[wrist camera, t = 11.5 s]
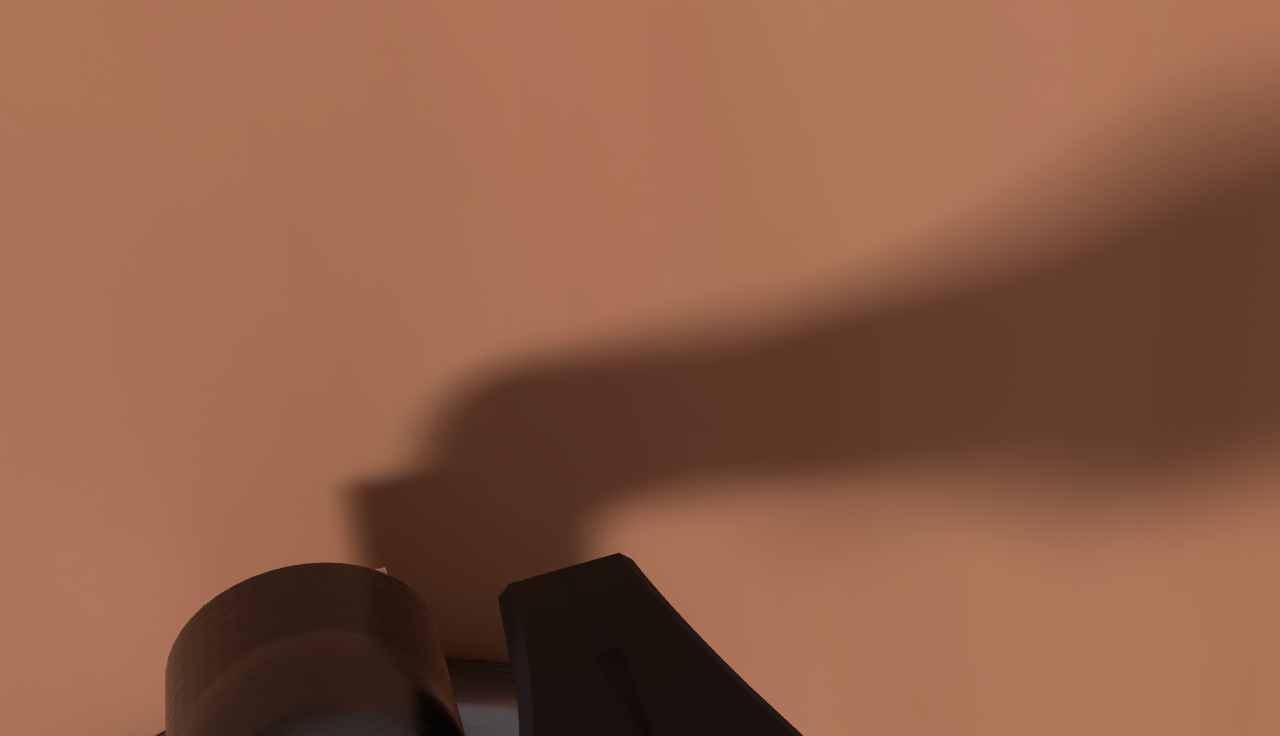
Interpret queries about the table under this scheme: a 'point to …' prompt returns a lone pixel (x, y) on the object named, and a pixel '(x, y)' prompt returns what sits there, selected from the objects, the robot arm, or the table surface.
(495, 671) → the crank base
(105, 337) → the table surface
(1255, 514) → the table surface
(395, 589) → the crank
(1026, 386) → the table surface
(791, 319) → the table surface
